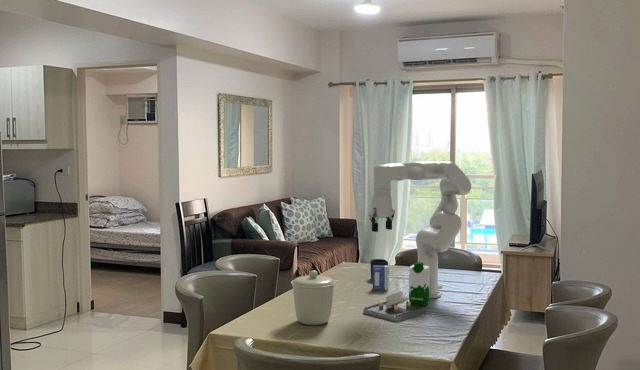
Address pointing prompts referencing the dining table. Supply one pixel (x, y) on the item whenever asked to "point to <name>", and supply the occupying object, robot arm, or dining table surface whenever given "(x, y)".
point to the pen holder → (377, 264)
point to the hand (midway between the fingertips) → (381, 230)
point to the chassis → (394, 311)
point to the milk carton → (419, 284)
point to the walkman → (380, 277)
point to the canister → (313, 298)
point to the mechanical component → (395, 299)
